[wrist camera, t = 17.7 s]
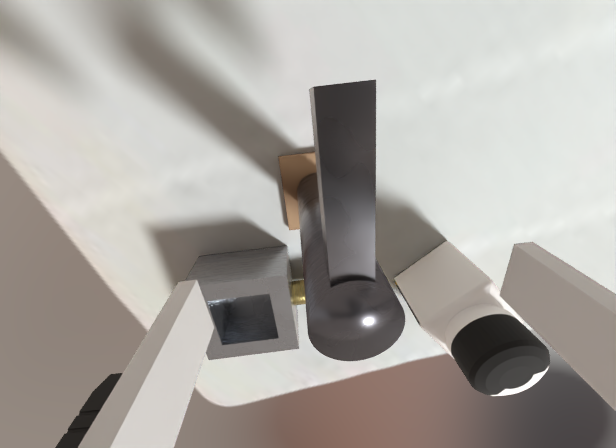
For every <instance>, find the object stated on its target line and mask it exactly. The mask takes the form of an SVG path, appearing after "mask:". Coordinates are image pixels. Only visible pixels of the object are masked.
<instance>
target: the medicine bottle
mask: <svg viewBox="0 0 616 448" xmlns="http://www.w3.org/2000/svg"><path fill="white" fill-rule="evenodd" d="M394 282H395V283H396V285H397V287H398V289H399V290H400V292H401V294H402V296H403V297H404V299H405V301H406V303H407V304H408V306H409V308H410V310H411V311H412V313H413V315H414V316H415V318H416V320H417V322H418V323H419V325H420V327H421V328H422V329H423V330H424V331H425V332H427V333H428V334H429V335H430V336H431V337H432V338H433V339H434V340H435V341H436V342H437V343H438V344H439V345H440V346H441V347H442V348H443V349H444V350H445V351H446V352H447V353H448V354H449V355H450V356H451V357H452V358H454V359H455V361H456V362H457V364H458V365H459V367H460V368H461V370H462V372H463V373H464V375H465V376H466V378H467V379H468V381H469V383H470V384H471V386H472V387H473V388H474V389H476V390H477V391H479V392H482V393H484V394H487V395H491V396H503V395H510V394H514V393H518V392H521V391H523V390H526V389H528V388H529V387H531V386H532V385H534V384H535V383H536V382H538V380H539V379H540V378H541V377H542V376H543V375H544V374H545V373H546V371H547V369H548V367H549V364H550V356H549V351H548V349H547V348H546V346H545V345H544V344H543V343H542V342H541V341H540V340H539V339H538V338H536V337H535V336H534V335H533V334H532V333H531V332H530V331H529V330H528V329H527V328H526V327H525V326H524V322H523V320H522V319H521V317H520V316H519V315H518V314H517V313H516V312H515V311H514V310H513V309H512V308H511V307H510V306H509V305H508V304H507V303H506V302H505V301H504V300H503V299H502V298H501V297H500V296H499V295H500V292H501V291H500V290H499V288H498V287H497V286H496V284H495V283H494V282H493V280H492V279H490V278H489V277H488V276H487V275H486V274H485V273H484V272H483V271H481V270H480V269H479V268H478V267H477V266H476V265H475V264H474V263H473V262H471V261H470V260H469V259H468V258H467V257H466V256H465V255H464V254H462V253H461V252H460V251H459V250H458V249H457V248H456V247H455V246H454V245H452V244H451V243H450V242H448V241H445V242H444V243H442V244H441V245H440V246H438V247H437V248H435V249H434V250H433V251H431V252H430V253H428V254H427V255H426V256H424V257H423V258H421V259H420V260H419V261H417V262H416V263H414V264H413V265H412V266H410V267H409V268H408V269H406V270H405V271H403V272H402V273H401V274H399V275H398V276H396V277H395V278H394Z"/></svg>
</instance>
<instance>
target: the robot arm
mask: <svg viewBox="0 0 616 448" xmlns="http://www.w3.org/2000/svg"><path fill="white" fill-rule="evenodd" d="M499 296H500V297H501V298H502V299H503V300H504V301H505V302H506V303H507V304H508V305H509V306H510V307H511V308H512V309H513V310H514V311H515V312H516V313H517V314H518V315H519V316H520V317H521V318H522V319H523V320H524V321H525V322H526V323H527V324H528V325H529V326H530V327H531V328H532V329H533V330H534V331H536V332H537V333H538V334H539V335H540V336H541V337H542V338H543V339H544V340H545V341H546V342H547V343H548V344H549V345H550V346H551V347H552V348H553V349H554V350H555V351H556V352H557V353H558V354H559V355H560V356H561V357H562V358H563V359H564V360H565V361H566V362H567V363H568V364H569V365H570V366H571V367H572V368H573V369H574V370H575V371H576V372H577V373H578V374H579V375H580V376H581V377H582V378H583V379H584V380H585V381H586V382H587V383H588V384H589V385H590V386H591V387H592V388H593V389H594V390H595V391H596V392H597V393H598V394H599V395H600V396H601V397H602V398H603V399H604V400H605V401H606V402H607V403H608V404H609V405H610V406H611V407H612V408H613V409H614V410H615V411H616V294H615V293H613V292H611V291H610V290H608V289H607V288H605V287H604V286H602V285H600V284H599V283H597V282H596V281H594V280H592V279H591V278H589V277H588V276H586V275H584V274H583V273H581V272H580V271H578V270H576V269H575V268H573V267H572V266H570V265H569V264H567V263H565V262H564V261H562V260H561V259H559V258H557V257H556V256H554V255H553V254H551V253H549V252H548V251H546V250H545V249H543V248H541V247H540V246H538V245H537V244H535V243H534V242H528V243H519V244H514V246H513V250H512V253H511V257H510V260H509V264H508V267H507V271H506V274H505V278H504V281H503V285H502V288H501V292H500V295H499ZM213 330H214V325H213V323H212V320H211V317H210V314H209V312H208V309H207V306H206V303H205V301H204V298H203V295H202V292H201V290H200V287H199V284H198V281H197V280H190V281H181V282H178V283H177V285H176V287H175V288H174V290H173V292H172V293H171V295H170V297H169V298H168V300H167V301H166V303H165V305H164V306H163V308H162V310H161V311H160V313H159V315H158V316H157V318H156V320H155V321H154V323H153V324H152V326H151V328H150V329H149V331H148V333H147V334H146V336H145V338H144V339H143V341H142V343H141V344H140V346H139V348H138V349H137V351H136V352H135V354H134V356H133V357H132V359H131V361H130V363H129V364H128V366H127V367H126V369H125V371H124V372H123V373H118V374H111V375H109V376H108V377H107V379H105V381H103V382H102V383H101V384H100V385H99V386H98V387H97V388H96V389H95V390H94V391H93V392H92V394H91V396H90V397H89V398H88V400H87V402H86V403H85V404H84V406H83V407H82V409H81V410H80V414H79V416H76V418H75V419H74V421H73V422H72V424H71V425H70V427H69V428H68V432H67V433H66V434H64V436H63V437H62V439H61V440H60V442H59V443H58V445H57V446H56V448H174V445H175V442H176V439H177V436H178V433H179V430H180V427H181V424H182V421H183V419H184V416H185V412H186V410H187V407H188V403H189V401H190V398H191V395H192V392H193V389H194V386H195V383H196V380H197V377H198V374H199V371H200V368H201V365H202V362H203V359H204V356H205V353H206V350H207V347H208V345H209V342H210V339H211V336H212V333H213Z"/></svg>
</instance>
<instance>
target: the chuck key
mask: <svg viewBox="0 0 616 448" xmlns="http://www.w3.org/2000/svg"><path fill="white" fill-rule="evenodd" d="M309 92H310V103H311V114H312V125H313V136H314V146H315V157H316V168H317V172H316V173H311V174H308V175H307V176H305V177H304V178H303V179H302V180H301V181H300V183H299V185H298V188H297V199H298V211H299V224H300V237H301V249H302V262H303V275H304V288H305V300H306V313H307V326H308V335H309V339H310V341H311V343H312V344H313V346H314V347H315V348H316V349H317V350H318V351H319V352H320V353H322V354H323V355H325V356H327V357H330V358H333V359H336V360H341V361H358V360H364V359H368V358H371V357H374V356H376V355H378V354H380V353H382V352H384V351H385V350H387V349H388V348H390V347H391V346H392V345H393V344H394V343H395V342H396V341H397V340H398V338H399V337H400V335H401V333H402V331H403V328H404V325H405V314H404V310H403V308H402V306H401V304H400V302H399V300H398V298H397V297H396V295H395V293H394V291H393V289H392V287H391V286H390V284H389V282H388V280H387V278H386V276H385V275H384V273H383V271H382V269H381V267H380V265H379V264H378V262H377V260H376V258H375V201H376V80H369V81H360V82H351V83H343V84H334V85H325V86H317V87H312V88H311V89H309Z"/></svg>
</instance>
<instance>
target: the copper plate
mask: <svg viewBox="0 0 616 448" xmlns="http://www.w3.org/2000/svg"><path fill="white" fill-rule="evenodd" d="M278 158H279V165H280V171H281V178H282V185H283V191H284V198H285V205H286V212H287V218H288V225H289V230H296V229H300V224H299V211H298V199H297V188H298V185H299V183H300V181H301V180H302V179H303V178H304V177H305V176H307V175H308V174H311V173H316V172H317V168H316V157H315V152H311V153H302V154H294V155H285V156H279V157H278Z"/></svg>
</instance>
